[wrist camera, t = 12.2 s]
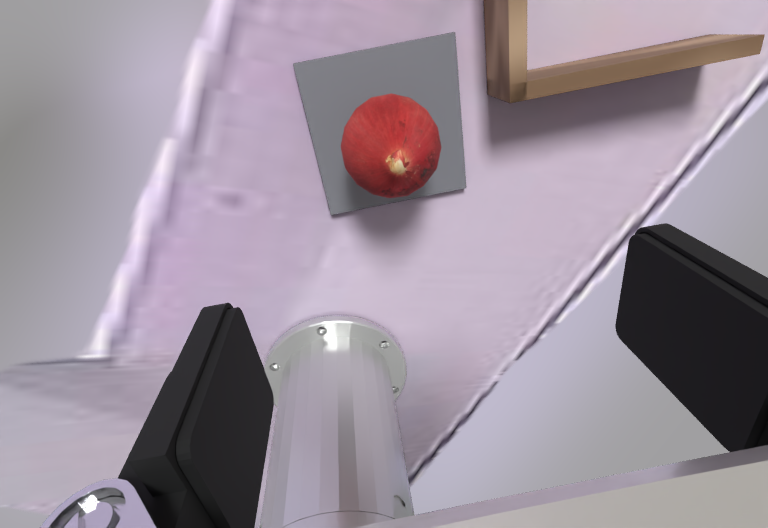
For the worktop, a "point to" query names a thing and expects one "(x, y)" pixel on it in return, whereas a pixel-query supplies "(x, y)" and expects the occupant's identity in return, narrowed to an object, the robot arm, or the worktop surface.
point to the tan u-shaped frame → (519, 84)
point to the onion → (391, 146)
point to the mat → (375, 78)
